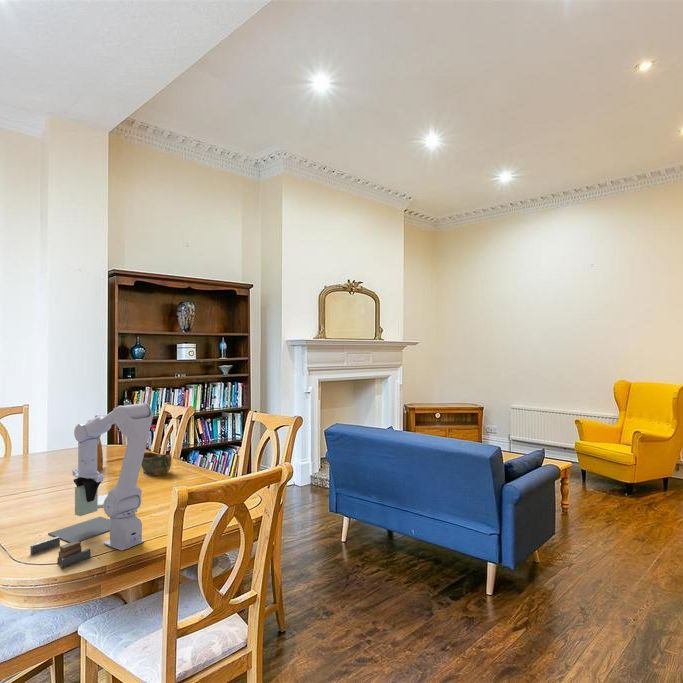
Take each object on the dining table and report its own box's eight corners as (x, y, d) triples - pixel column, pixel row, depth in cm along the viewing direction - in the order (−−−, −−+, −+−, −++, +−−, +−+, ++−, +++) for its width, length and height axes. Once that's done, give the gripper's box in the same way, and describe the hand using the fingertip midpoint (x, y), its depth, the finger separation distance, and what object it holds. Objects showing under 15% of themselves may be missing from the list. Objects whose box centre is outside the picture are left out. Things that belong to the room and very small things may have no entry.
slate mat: (124, 525, 168) (124, 524, 168) (72, 544, 152) (72, 542, 152) (100, 517, 175) (100, 516, 175) (48, 534, 160) (48, 533, 160)
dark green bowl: (142, 480, 221) (142, 457, 221) (139, 469, 239) (140, 449, 239) (172, 477, 226) (172, 455, 226) (167, 467, 244) (168, 446, 244)
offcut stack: (82, 557, 143) (82, 541, 143) (62, 565, 138) (62, 548, 138) (78, 555, 144) (78, 539, 144) (57, 563, 139) (57, 546, 139)
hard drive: (93, 496, 195) (95, 505, 184) (115, 493, 199) (119, 501, 188) (93, 500, 195) (95, 509, 184) (115, 497, 199) (119, 506, 188)
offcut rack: (90, 557, 143) (90, 549, 143) (62, 568, 136) (62, 559, 136) (58, 544, 152) (58, 536, 152) (30, 553, 145) (30, 545, 145)
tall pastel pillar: (97, 510, 165) (97, 484, 165) (80, 516, 160) (80, 488, 160) (92, 509, 167) (92, 482, 167) (74, 514, 161) (74, 487, 161)
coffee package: (78, 474, 230) (78, 427, 230) (81, 467, 242) (81, 422, 242) (101, 471, 234) (102, 425, 234) (103, 465, 245) (103, 421, 245)
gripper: (63, 458, 164) (63, 499, 164) (88, 465, 156) (88, 507, 156) (84, 454, 170) (83, 493, 170) (109, 460, 162) (109, 501, 162)
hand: (87, 500), depth 164 cm, fingers closed on tall pastel pillar, 3 cm apart
